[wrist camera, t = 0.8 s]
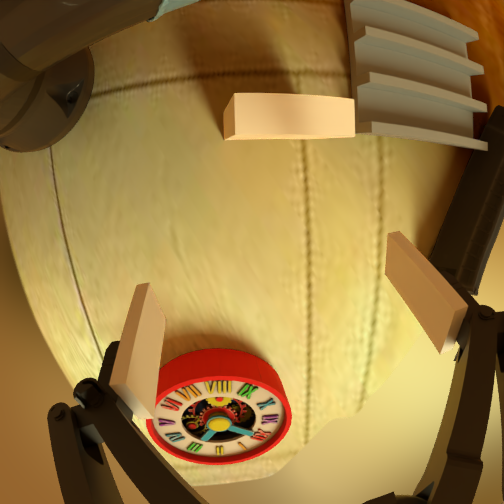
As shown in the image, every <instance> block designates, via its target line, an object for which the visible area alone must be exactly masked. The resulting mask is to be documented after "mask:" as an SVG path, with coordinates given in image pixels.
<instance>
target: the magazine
mask: <svg viewBox="0 0 504 504" xmlns="http://www.w3.org/2000/svg"><path fill="white" fill-rule="evenodd" d="M483 127H484V131H483V133H482V135H481V137H480V139H479V140H480V141H484V142H488V151H484V150H476V149H475V150H474V152H473V154H472V156H471V158H470V160H469V162H468V165H467V167H466V169H465V171H464V174H463V176H462V179H461V181H460V183H459V186H458V188H457V191H456V193H455V196H454V198H453V201H452V203H451V206H450V208H449V211H448V213H447V216H446V218H445V221H444V223H443V226H442V229H441V231H440V234H439V237H438V239H437V242H436V245H435V247H434V250H433V252H432V255H431V258H430V260H429V262H430V263H431V264H432V265H433V266H434V267H435V268H436V270H437V271H438V272H442V271H446V272H448V273H450V274H451V275H453V276H454V277H455V278H456V279H457V280H458V281H459V283H460V284H461V285H462V286H463V288H465V289H466V290H467V291H468V292H469V294H470V295H476V296H477V295H478V289H479V285H480V282H481V279H482V275H483V273H484V269H485V267H486V263H487V261H488V258H489V256H490V253H491V250H492V248H493V245H494V243H495V241H496V238H497V235H498V233H499V230H500V227H501V224H502V222H503V219H504V107H502V106H500V105H498V106H496V107H495V109H494V111H493V113H492V115H491V117H490V119H489V120H488V122H487V124H486V126H485V125H484V126H483Z"/></svg>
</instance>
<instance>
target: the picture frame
mask: <svg viewBox="0 0 504 504" xmlns="http://www.w3.org/2000/svg"><path fill="white" fill-rule="evenodd" d="M223 125H224V140H240V139H320V138H341V137H355V109H354V99H348V98H339V97H329V96H317V95H302V94H281V93H234V94H233V96H232V98H231V100H230V101H229V103H228V105H227V107H226V109H225V110H224V112H223Z"/></svg>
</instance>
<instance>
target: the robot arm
mask: <svg viewBox="0 0 504 504" xmlns="http://www.w3.org/2000/svg"><path fill="white" fill-rule="evenodd" d="M197 1H199V0H0V146H1V147H2V148H4V149H6V150H9V151H13V152H34V151H39V150H42V149H45V148H48V147H50V146H52V145H53V144H55V143H56V142H58V141H59V140H61V139H62V138H63V137H64V136H65V135H66V134H67V133H68V132H69V131H70V130H71V129H72V128H73V127H74V126H75V124H76V123H77V122H78V120H79V119H80V117H81V115H82V114H83V112H84V110H85V108H86V106H87V104H88V101H89V99H90V96H91V92H92V88H93V83H94V62H93V58H92V55H91V52H90V50H89V48H88V46H90V45H92V44H94V43H96V42H98V41H100V40H102V39H104V38H106V37H108V36H111V35H113V34H115V33H117V32H119V31H122V30H124V29H126V28H129V27H131V26H133V25H136V24H138V23H141V22H143V21H147V22H152V21H155V20H156V19H158V18H159V17H161V16H162V15H163V14H165V13H168V12H170V11H173V10H176V9H178V8H181V7H184V6H187V5H190V4H193V3H195V2H197ZM385 275H386V276H387V277H388V279H389V280H390V282H391V283H392V284H393V286H394V287H395V288H396V290H397V291H398V293H399V294H400V295H401V297H402V298H403V300H404V301H405V303H406V304H407V305H408V307H409V308H410V310H411V311H412V313H413V314H414V316H415V317H416V318H417V320H418V321H419V323H420V324H421V326H422V327H423V329H424V330H425V332H426V333H427V335H428V336H429V338H430V340H431V341H432V343H433V344H434V345H435V347H436V349H437V350H438V352H439V354H442V353H445V352H447V351H450V350H452V349H453V347H454V344H455V342H456V341H457V342H458V344H459V345H460V347H459V349H458V352H457V354H456V356H455V359H454V361H456V364H455V370H454V375H453V379H452V384H451V388H450V392H449V396H448V400H447V404H446V408H445V412H444V415H443V419H442V422H441V426H440V429H439V432H438V435H437V439H436V442H435V445H434V448H433V451H432V453H431V456H430V459H429V462H428V464H427V467H426V470H425V472H424V475H423V477H422V478H421V480H420V482H419V483H418V485H417V487H416V489H415V491H414V493H413V495H412V496H410V495H395V494H394V492H391V493H389V494H386V495H383V496H381V497H378V498H375V499H372V500H369V501H366V502H365V503H363V504H472V502H473V499H474V496H475V493H476V489H477V486H478V483H479V480H480V476H481V472H482V469H483V462H482V461H481V459H480V457H481V452H482V448H483V444H484V439H485V434H486V430H487V424H488V419H489V413H490V407H491V401H492V393H493V385H494V376H495V370H496V377H497V384H498V392H499V401H500V412H501V426H502V494H503V502H502V504H504V311H502V312H495V311H494V310H493V309H492V308H491V307H489V306H486V305H479V304H478V303H477V302H476V301H475V299H474V298H473V297H472V296H471V295H470V294H469V292H468V291H467V290H466V289H465V288H463V286H462V285H461V284H460V283H459V281H458V280H457V279H456V278H455V277H454V276H453V275H451V274H450V273H448V272H446V271H442V272H438V271H437V270H436V268H435V267H434V266H433V265H432V264H431V263H430V262H429V261H428V260H427V259H426V258H425V257H424V256H423V255H422V254H421V253H420V252H419V250H418V249H417V248H416V247H415V246H414V245H413V244H412V243H411V242H410V241H409V240H408V239H407V238H406V237H405V236H404V235H403V234H402V233H401V232H400V231H397V232H392V233H388V235H387V253H386V267H385ZM165 325H166V318H165V316H164V314H163V312H162V310H161V307H160V305H159V303H158V301H157V298H156V296H155V294H154V292H153V289H152V287H151V285H150V282H149V283H144V284H139V285H137V286H136V289H135V292H134V295H133V299H132V302H131V305H130V308H129V312H128V315H127V319H126V322H125V325H124V329H123V333H122V336H121V340H120V341H114V342H111V344H110V345H109V347H108V348H107V349H106V352H105V356H104V360H103V363H102V367H101V370H100V373H99V377H98V381H97V380H96V379H94V378H85V379H83V380H81V381H80V382H79V383H78V384H77V385H76V387H75V389H74V392H73V395H74V399H75V400H76V401H77V402H78V403H79V404H80V405H77V406H74V407H71V408H70V407H69V406H68V405H67V404H65V403H57V404H55V405H53V406H52V407H51V409H50V410H49V412H48V417H47V419H48V426H49V433H50V440H51V445H52V451H53V456H54V461H55V466H56V471H57V475H58V479H59V484H60V488H61V492H62V496H63V499H64V502H65V504H124V503H123V501H122V498H121V496H120V493H119V491H118V489H117V486H116V483H115V480H114V478H113V475H112V473H111V470H110V467H109V464H108V461H107V458H106V456H105V453H104V449H103V446H102V443H103V442H105V444H106V445H107V447H108V448H109V449H110V451H111V453H112V454H113V456H114V457H115V458H116V460H117V461H118V463H119V464H120V465H121V467H122V468H123V470H124V471H125V472H126V474H127V475H128V476H129V478H130V479H131V481H132V482H133V483H134V484H135V486H136V487H137V488H138V489H139V491H140V492H141V493H142V494H143V496H144V497H145V498H146V499H147V501H148V502H149V503H150V504H209V503H208V502H207V501H206V500H205V499H203V498H202V497H201V496H200V495H199V494H198V493H197V492H196V491H195V490H194V489H193V488H192V487H191V486H190V485H189V484H188V483H187V482H186V481H185V480H184V479H183V478H182V477H181V476H180V475H179V474H178V473H177V472H176V471H175V470H174V468H173V467H172V466H171V465H170V464H169V463H168V462H167V461H166V460H165V459H164V458H163V456H162V455H161V454H160V453H159V452H158V451H157V450H156V448H155V447H154V446H153V445H152V444H151V443H150V441H149V440H148V439H147V438H146V437H145V435H144V434H143V433H142V432H141V431H140V429H139V428H138V427H137V426H136V424H135V423H134V422H133V421H132V417H133V414H134V415H135V416H136V417H137V418H138V419H154V412H155V402H156V393H157V384H158V376H159V368H160V360H161V352H162V345H163V338H164V331H165Z"/></svg>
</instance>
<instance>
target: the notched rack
mask: <svg viewBox="0 0 504 504" xmlns="http://www.w3.org/2000/svg"><path fill="white" fill-rule="evenodd" d="M344 6H345V14H346V23H347V33H348V44H349V56H350V71H351V89H352V99H354V109H355V134H367V135H377V136H387V137H396V138H404V139H412V140H419V141H426V142H433V143H439V144H445V145H451V146H456V147H462V148H467V149H476V150H484V151H488V142H484V141H480V140H476V139H473V112H487V104H485V103H483V102H480V101H477V100H475V99H472V92H471V81H470V76H472V75H480V74H484V70H483V66H481V65H479V64H477V63H475V62H473V61H470V60H468V55H467V48H466V42H471V41H475V40H479V37H478V32H476V31H474V30H472V29H470V28H468V27H466V26H464V25H462V24H460V23H458V22H456V21H454V20H452V19H449V18H447V17H445V16H443V15H440V14H438V13H436V12H433V11H431V10H428V9H426V8H424V7H421V6H418V5H416V4H413V3H410V2H408V1H405V0H344Z"/></svg>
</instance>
